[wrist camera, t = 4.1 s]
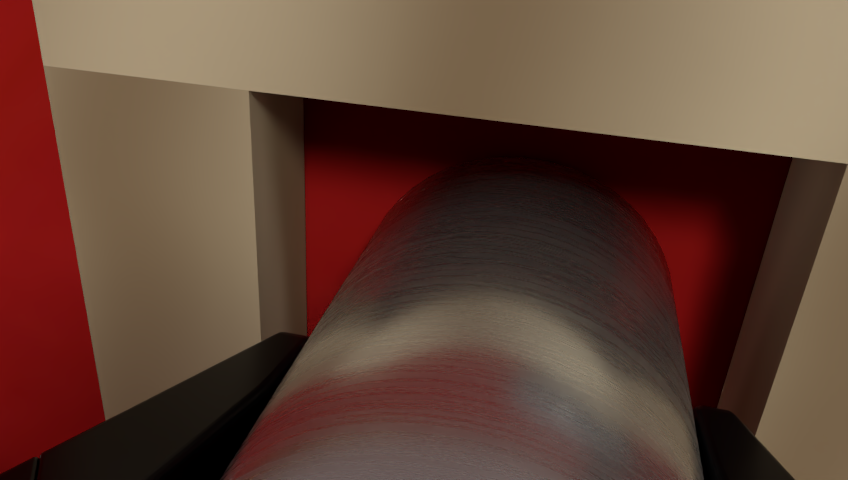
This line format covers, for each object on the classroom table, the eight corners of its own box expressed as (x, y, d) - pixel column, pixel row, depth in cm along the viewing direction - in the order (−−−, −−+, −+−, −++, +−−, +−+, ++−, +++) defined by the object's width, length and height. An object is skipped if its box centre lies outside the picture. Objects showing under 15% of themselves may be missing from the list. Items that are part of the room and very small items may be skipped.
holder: (1162, -110, 8) (1310, -105, 6) (813, 643, 13) (843, 749, 11) (99, -178, 10) (-1, -186, 8) (182, 504, 15) (133, 578, 13)
